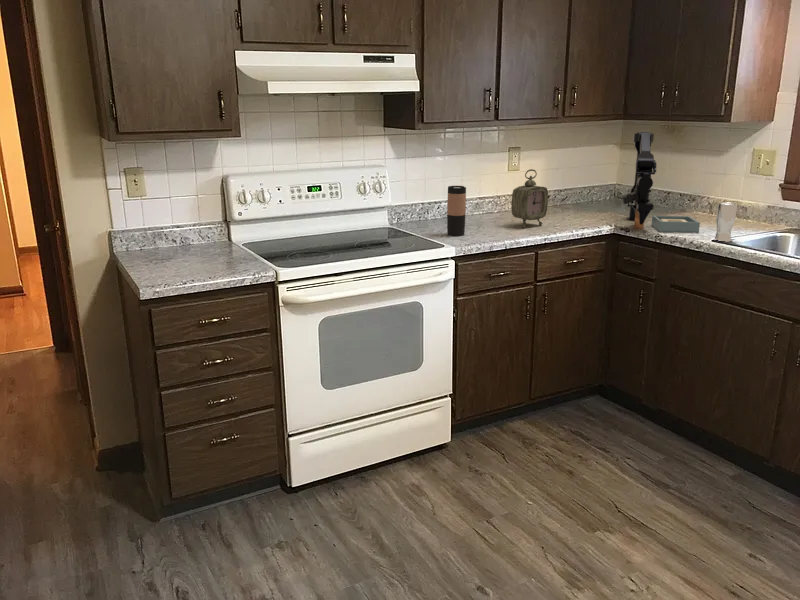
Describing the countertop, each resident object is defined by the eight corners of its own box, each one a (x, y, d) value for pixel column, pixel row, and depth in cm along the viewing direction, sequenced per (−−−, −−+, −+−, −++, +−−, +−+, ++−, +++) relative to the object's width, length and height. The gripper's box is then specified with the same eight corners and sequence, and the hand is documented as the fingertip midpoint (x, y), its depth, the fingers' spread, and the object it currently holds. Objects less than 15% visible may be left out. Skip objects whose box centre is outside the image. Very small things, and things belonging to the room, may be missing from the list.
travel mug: (443, 235, 286) (444, 187, 280) (452, 232, 292) (453, 185, 286) (459, 237, 282) (460, 188, 276) (468, 234, 288) (469, 186, 282)
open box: (651, 225, 306) (652, 215, 304) (688, 226, 304) (689, 216, 302) (659, 232, 291) (660, 221, 290) (698, 233, 289) (699, 222, 288)
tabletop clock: (523, 229, 298) (526, 171, 290) (508, 226, 305) (511, 169, 297) (546, 225, 306) (549, 169, 298) (531, 222, 313) (534, 167, 305)
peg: (633, 227, 301) (635, 207, 299) (642, 227, 301) (644, 207, 298) (635, 229, 298) (637, 208, 295) (644, 229, 297) (646, 208, 294)
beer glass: (712, 241, 273) (717, 204, 269) (713, 238, 279) (718, 201, 275) (731, 243, 270) (737, 205, 266) (732, 239, 276) (737, 202, 272)
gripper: (619, 183, 304) (616, 218, 308) (628, 189, 286) (624, 226, 291) (645, 184, 302) (641, 219, 307) (655, 190, 285) (651, 227, 289)
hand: (639, 222), depth 298 cm, fingers open, 7 cm apart
